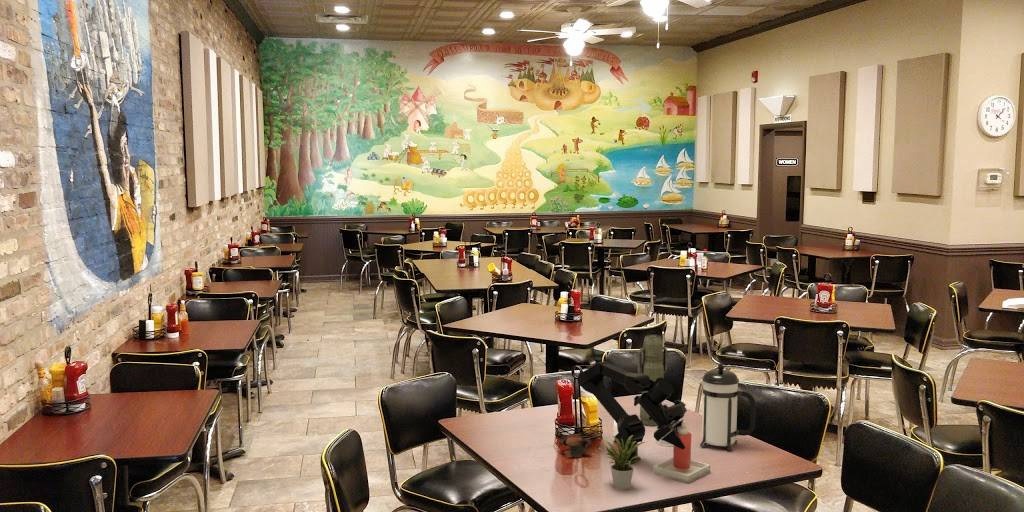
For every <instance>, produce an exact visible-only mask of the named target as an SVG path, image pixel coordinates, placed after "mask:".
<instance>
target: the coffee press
mask: <svg viewBox="0 0 1024 512" xmlns="http://www.w3.org/2000/svg"><path fill="white" fill-rule="evenodd" d="M739 382H740V379H739V377H738V376H737V374H736V373H735V372H733V371H730V370H727V369H725V366H724V364H722V363H721V364H718V365H717V369H711V370H708V371H706V372H704V374H703V376H702V377H701V380H700V381H699V382H698V384H699V385H701V386H702V418H701V419H702V420H701V421H702V422H701V423H702V425H701V438H702V441H701V442H700V445H699V446H700V447H701V448H703V449H705V448H706V447H707V446H708V445H711V446H716V447H724V448H725V449H726V451H727V452H733V447H732V445H736V444H737V443H738V440H737V436H741V437H745V436H749V435H751V434H752V433H753V432H754V430H755V428H756V419H757V418H756V415H757V414H756V413H757V412H756V411H757V405H756V399H755V397H754V396H753V394H751V393H750V392H747V391H746V390H742V391H741V390H739V389H738V385H739ZM741 396H742V397H745V398H747V400H748V401H749V403H750V405H749V406H750V413H749V415H750V416H749V427H748V429H747V430H741V429H740V430H739V429H738V428H737V423H738V421H737V420H738V419H737V416H738V397H741Z"/></svg>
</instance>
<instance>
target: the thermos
mask: <svg viewBox="0 0 1024 512" xmlns="http://www.w3.org/2000/svg"><path fill="white" fill-rule="evenodd" d="M667 369H668V349H667V348H666V346H664V345H663V339H662V336H660V335H659V334H647V335H645V336H644V340H643V343H642V347H640V348H639V349H638V351H637V373H640V374H645V375H647V376H649V378H650V379H651V380H653V381H655V380H656V379H657V378H660V377H663V379H664V376H665V373H667ZM664 380H665V379H664ZM646 392H648V391H646ZM643 393H645V392H641V395H642V394H643ZM660 404H662V405H663V402H662V403H660ZM649 417H650V416H649V415H648V414H647V413H646V411H645V410H644V409H643V408H642V407H641V405H640V404H639V419H640V420H641V421H642V422H643V423H642V424H643V425H644V426H645V427H652V428H653V427H658V425H657V424H656V423H655V422H654V421H653V420H650V419H649Z"/></svg>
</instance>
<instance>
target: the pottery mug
mask: <svg viewBox="0 0 1024 512" xmlns="http://www.w3.org/2000/svg"><path fill="white" fill-rule="evenodd" d="M586 445H587V446H586ZM558 446H559V447H560V446H564V447H565V446H567V447H568V449H569V450H568V451H565V452H564V454H565V459H569V458H575V459H576V458H579V459H580V458H582V457H583V455H586V453H587V452H589V451H591V448H592V447H593V443H592V441H591V440H590V439H589V438H582V435H581V434H577V433H576V434H575V433H573V434H566V435H562V436H561V437H560V441H559V444H558Z"/></svg>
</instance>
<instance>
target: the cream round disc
mask: <svg viewBox="0 0 1024 512" xmlns="http://www.w3.org/2000/svg"><path fill="white" fill-rule="evenodd" d="M661 439H662V438H661ZM661 439H660V440H659V441H657V440H656V439H655V442H656V444H658V445H659V446H662V447H668V448H671V447H673V448H674V445H672V444H670V443H668V442H666V441H662V440H661Z"/></svg>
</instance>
